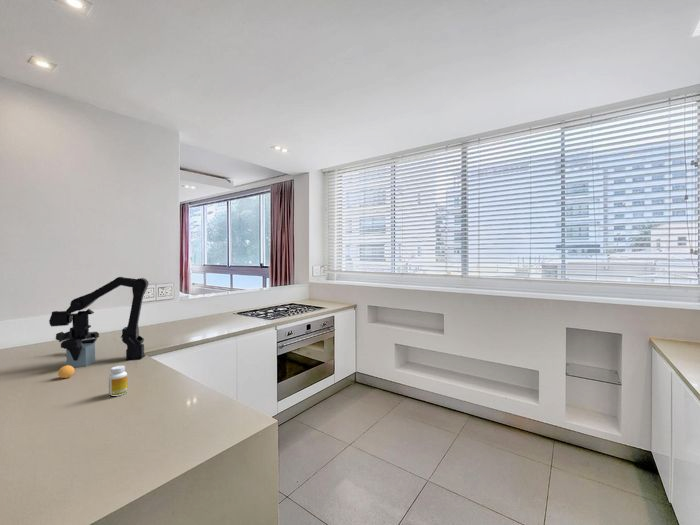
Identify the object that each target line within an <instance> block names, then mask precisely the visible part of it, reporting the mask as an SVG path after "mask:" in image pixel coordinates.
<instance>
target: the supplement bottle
mask: <svg viewBox="0 0 700 525" xmlns="http://www.w3.org/2000/svg"><path fill="white" fill-rule="evenodd" d="M127 390H128V372H127V371H126V366H125V365H116V366H113V367H111V368H110V374H109V375H108V396H109V395H119V394H122V393H125V392H127V393H128V391H127Z"/></svg>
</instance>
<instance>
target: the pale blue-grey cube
mask: <svg viewBox="0 0 700 525" xmlns="http://www.w3.org/2000/svg"><path fill="white" fill-rule="evenodd" d="M81 345H82V348H81V351H80V354H79V357H78V360H77V361H74V360H73V358H72V355H71V353H70V352H69V350H67V349H65V351H66V353H65V354H66V365H70V366H72V367H73V368H83V366H84V367H88V366H89V365H91V364H93V363H94V361H95V362H96V347H95V346H96V342H95V343H87V344H81ZM87 365H88V366H87Z"/></svg>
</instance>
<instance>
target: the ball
mask: <svg viewBox="0 0 700 525" xmlns="http://www.w3.org/2000/svg"><path fill="white" fill-rule="evenodd" d="M57 373H58V374H57V375H58V376H59V378H62V379H67V378H70V377H72V376H73V374H75V367H72V366H70V365H67V364H66V365H63V366H62V367H61V368H59V370H58V371H57Z"/></svg>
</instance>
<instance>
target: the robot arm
mask: <svg viewBox="0 0 700 525" xmlns="http://www.w3.org/2000/svg"><path fill="white" fill-rule="evenodd" d="M121 286H123V287H128V288H132V295H133V296H132V297H133V298H132V300H131V307H130V312H129V319H128V324H127V326H124V327H123V328H122V330H121V333H122V334H121V336H120V338H121V341H122V343H124V344H125V345H126V350H125V360H126V361H130V360H131V361H132V360H133V361H134V359H135V360H142V359H143V358H144V357H146V354H145V344H144V341H145V339H144V337H142V336H140V329H139V322H140V321H139V320H140V315H141V309H142V305H143V300H144V296H145V294H146V292H147V289H148V287H149V281H148V279H146V278H144V277H141V278H140V277H139V278H131V277H129V278H128V277H123V276H118V277H116V278H114V279H113V280H112V281H109V282H108V283H106V284H104V285H103V286H101V287H98V288H97V289H95V290H93V291H92V292H90V293H86V294H85V295H82V296H79V297H76V298H74V299H72V300H70V303H69V304H70V306H69V307H68V308H67V309H66V310H60V311H59V310H54V311H51V315H50V318H49V319H48V323H49V326H50V327H63V326H64V327H65V326H69V325H70V324H71V323H72V326H71V327H69V330H68V331H66V332H63V331H60V332H58V333H56V334H55V340H56V341H58V342H59V343H60V342H61V343H60V348H61V349H64V350H66V349H67V350H69V352H70V353H71V355H72V358H73V360H74V361H77V360H78V357H79V354H80V351H81V348H82V345H81V343H83V344H87V343H95V344H96V342H97V340H98V338H99V337H100V333H99V331H89V330H90V328H92V325H91V324H89V315H93V314H94V313H95V312H94V311H93V310H91V308H88V307H90V306H91V305H93V303H95V302H96V301H97V300H98V299H100V298H101V297H103V296H104V295H107V294H109V293H110V292H112V291H113V290H115V289H118V288H119V287H121ZM87 308H88V309H87ZM85 309H86V310H85ZM75 312H77V313H75ZM67 339H68V340H67Z"/></svg>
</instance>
